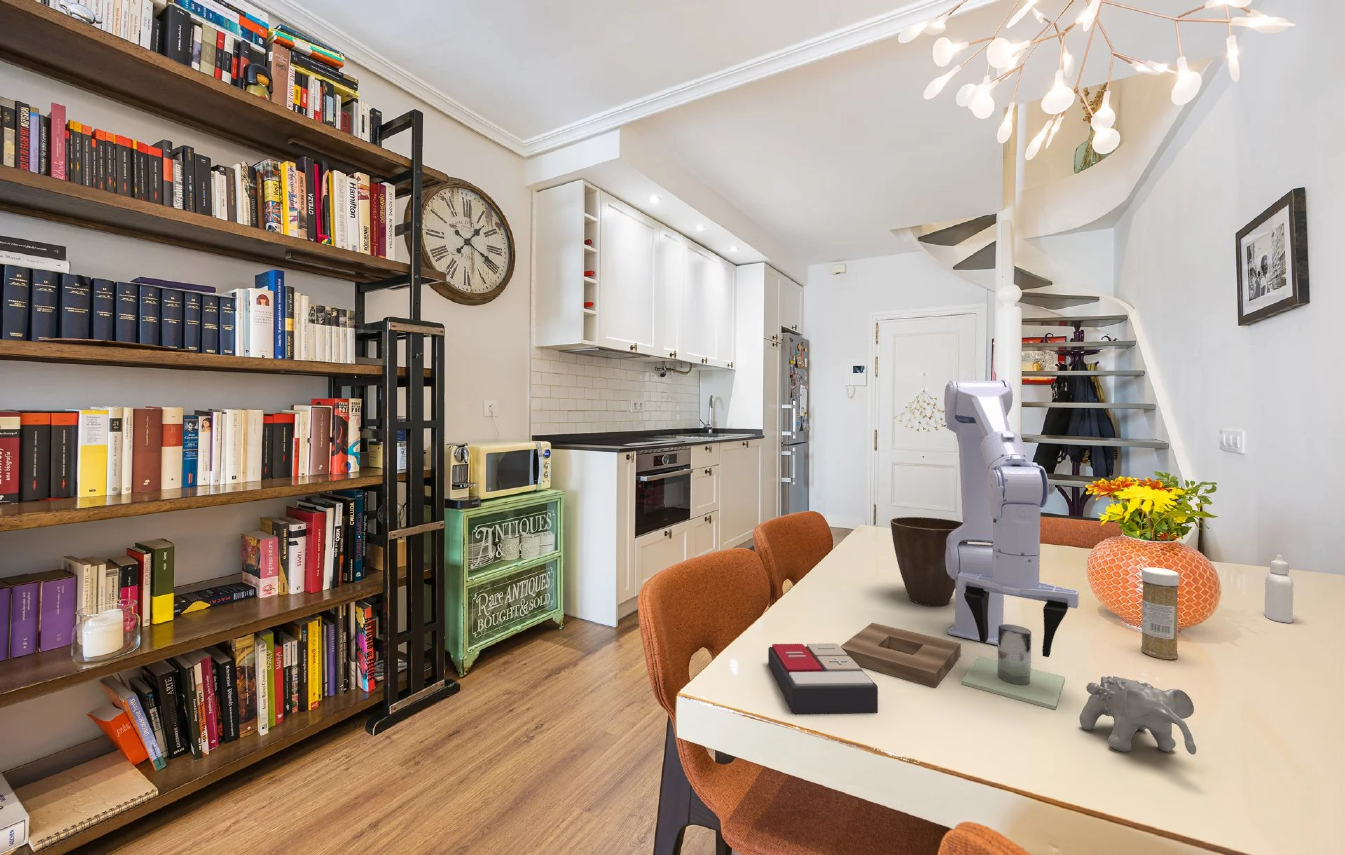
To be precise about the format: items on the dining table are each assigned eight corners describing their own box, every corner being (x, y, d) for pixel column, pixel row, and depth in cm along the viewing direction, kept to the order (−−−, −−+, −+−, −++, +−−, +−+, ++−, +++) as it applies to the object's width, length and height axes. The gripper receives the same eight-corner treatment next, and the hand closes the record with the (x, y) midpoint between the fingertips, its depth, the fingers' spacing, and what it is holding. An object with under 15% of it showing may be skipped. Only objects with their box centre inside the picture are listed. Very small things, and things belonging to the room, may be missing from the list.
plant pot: (874, 592, 123) (875, 518, 123) (931, 587, 127) (932, 515, 127) (924, 615, 108) (925, 531, 108) (987, 608, 113) (988, 527, 113)
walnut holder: (872, 634, 99) (872, 622, 99) (960, 655, 90) (960, 643, 90) (838, 660, 88) (838, 647, 88) (935, 687, 79) (935, 673, 79)
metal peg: (1000, 669, 84) (1001, 622, 84) (1032, 677, 81) (1033, 629, 81) (994, 679, 81) (995, 630, 81) (1027, 688, 78) (1029, 637, 78)
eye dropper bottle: (1300, 620, 107) (1302, 556, 107) (1289, 624, 105) (1290, 559, 105) (1268, 612, 111) (1269, 551, 111) (1256, 617, 109) (1257, 554, 109)
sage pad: (979, 659, 89) (979, 655, 89) (1064, 680, 82) (1064, 676, 82) (961, 684, 80) (961, 680, 80) (1055, 710, 73) (1055, 706, 73)
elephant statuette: (1119, 720, 72) (1116, 658, 72) (1240, 771, 60) (1236, 696, 61) (1066, 734, 69) (1062, 669, 69) (1183, 790, 57) (1179, 712, 58)
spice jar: (1182, 656, 90) (1183, 571, 90) (1171, 663, 88) (1173, 575, 88) (1146, 646, 94) (1147, 565, 94) (1135, 652, 92) (1136, 568, 92)
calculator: (839, 640, 88) (879, 680, 73) (839, 669, 87) (879, 715, 72) (767, 641, 87) (793, 681, 72) (767, 670, 87) (793, 716, 72)
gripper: (952, 548, 82) (951, 642, 83) (1075, 565, 73) (1074, 671, 73) (964, 540, 88) (963, 629, 88) (1080, 555, 79) (1078, 654, 79)
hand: (1014, 647), depth 81 cm, fingers open, 7 cm apart
